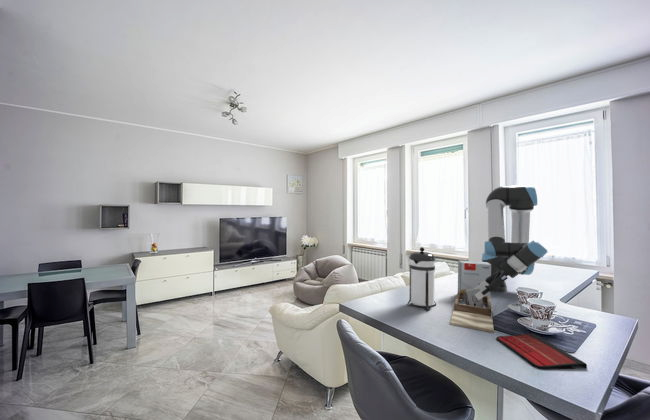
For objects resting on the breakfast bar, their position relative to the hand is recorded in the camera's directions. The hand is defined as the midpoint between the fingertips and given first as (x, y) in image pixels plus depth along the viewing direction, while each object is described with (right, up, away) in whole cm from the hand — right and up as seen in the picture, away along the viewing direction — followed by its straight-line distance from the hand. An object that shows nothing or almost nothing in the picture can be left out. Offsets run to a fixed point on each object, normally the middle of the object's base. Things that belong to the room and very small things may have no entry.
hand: (476, 293), depth 137 cm
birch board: (-11, -7, -16) cm, 21 cm away
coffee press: (-26, -7, +5) cm, 27 cm away
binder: (-3, -8, -42) cm, 43 cm away
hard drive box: (+8, -7, +17) cm, 21 cm away
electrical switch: (-1, -7, +2) cm, 8 cm away
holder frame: (-1, -7, +2) cm, 7 cm away
